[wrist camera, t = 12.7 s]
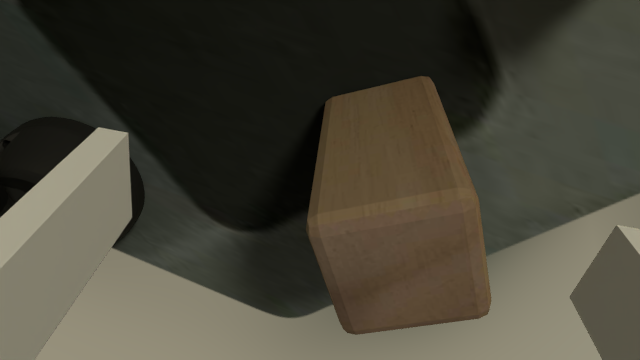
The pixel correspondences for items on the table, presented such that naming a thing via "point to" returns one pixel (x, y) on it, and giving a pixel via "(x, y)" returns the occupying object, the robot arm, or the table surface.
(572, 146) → the table surface
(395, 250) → the wooden block
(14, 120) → the table surface
